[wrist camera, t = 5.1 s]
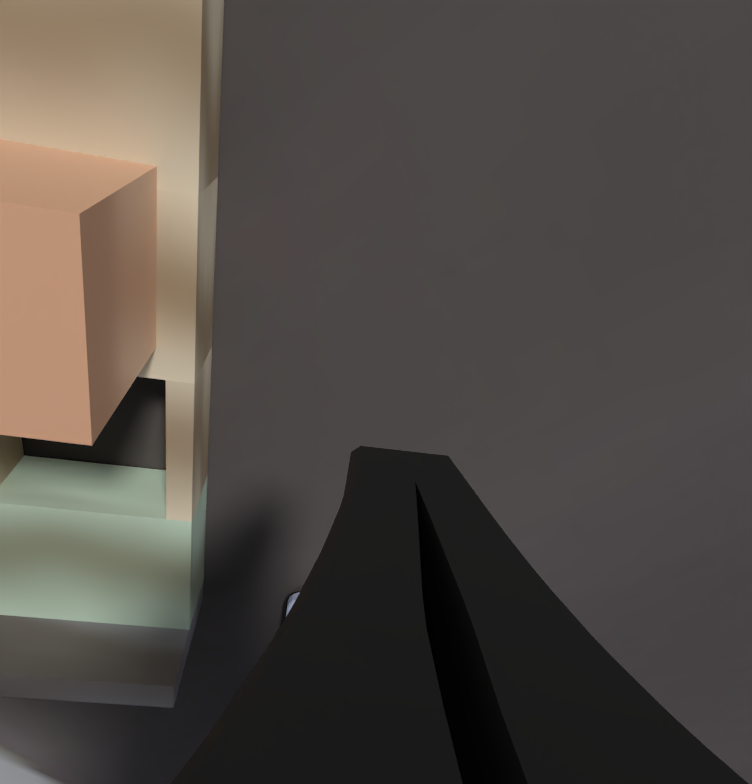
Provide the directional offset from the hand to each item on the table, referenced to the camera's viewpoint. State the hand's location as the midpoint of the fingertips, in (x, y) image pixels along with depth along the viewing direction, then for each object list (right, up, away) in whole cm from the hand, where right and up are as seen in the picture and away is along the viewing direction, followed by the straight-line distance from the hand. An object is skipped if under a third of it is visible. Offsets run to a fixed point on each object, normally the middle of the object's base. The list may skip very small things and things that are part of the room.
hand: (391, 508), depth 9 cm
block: (-7, +5, +5) cm, 10 cm away
